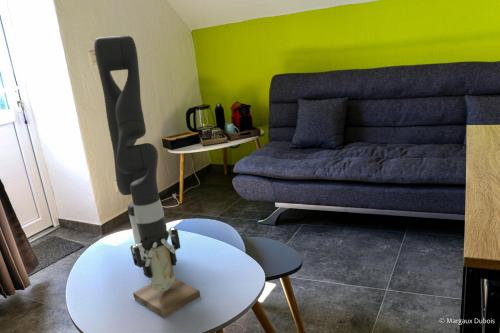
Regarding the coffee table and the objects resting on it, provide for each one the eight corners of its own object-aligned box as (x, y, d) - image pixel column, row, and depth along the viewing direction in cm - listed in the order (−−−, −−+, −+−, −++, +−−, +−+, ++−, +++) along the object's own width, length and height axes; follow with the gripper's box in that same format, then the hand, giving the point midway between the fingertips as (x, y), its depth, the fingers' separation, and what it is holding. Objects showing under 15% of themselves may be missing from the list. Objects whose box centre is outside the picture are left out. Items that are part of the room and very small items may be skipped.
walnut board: (134, 298, 125) (132, 292, 124) (168, 280, 133) (167, 274, 132) (164, 318, 114) (163, 311, 113) (200, 296, 121) (199, 290, 121)
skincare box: (167, 291, 119) (159, 250, 115) (153, 291, 119) (144, 251, 116) (175, 278, 125) (168, 240, 121) (162, 278, 126) (153, 240, 122)
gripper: (164, 205, 124) (174, 257, 128) (119, 223, 115) (132, 278, 119) (179, 209, 119) (189, 263, 123) (133, 229, 109) (146, 286, 114)
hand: (161, 270), depth 121 cm, fingers closed on skincare box, 7 cm apart
